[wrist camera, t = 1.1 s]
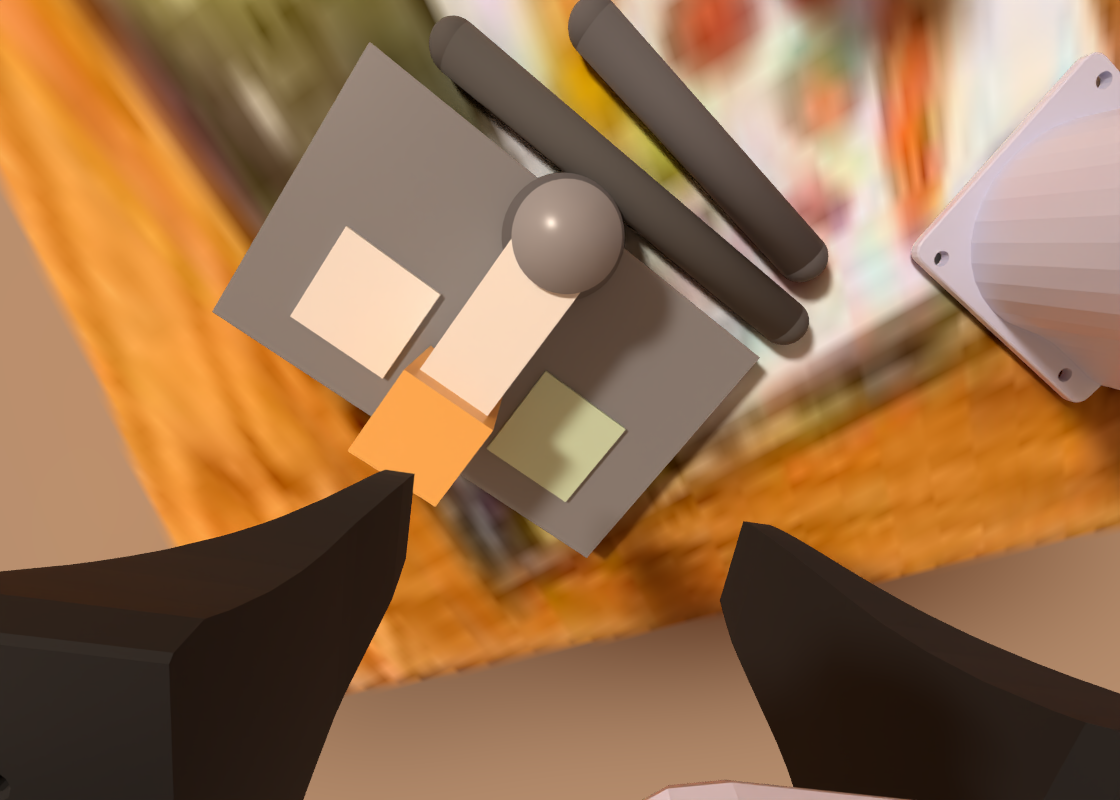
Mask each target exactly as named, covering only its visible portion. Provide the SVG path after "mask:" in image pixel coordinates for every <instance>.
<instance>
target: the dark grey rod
mask: <svg viewBox="0 0 1120 800" xmlns="http://www.w3.org/2000/svg"><path fill="white" fill-rule="evenodd" d="M429 48H430V53H431V57H432V59H433V61H434V63H435V64H436V66H437V67H438V68H439V69H440V70H441V71H442V72H443V73H444V74H445V75H446V76H448V77H449V78H450V79H451V80H453V81H454V82H455V83H456V84H457V85H459V86H460V87H461V88H462V89H463V90H465V91H466V92H467V93H468V94H470V95H471V96H472V97H473V98H474V99H476V100H477V101H478V102H479V103H481V104H482V105H483V106H484V107H485V108H487V109H488V110H489V111H490V112H491V113H493V114H494V115H495V116H496V117H498V118H499V119H500V120H501V121H502V122H504V123H505V124H506V125H507V126H509V127H510V128H511V129H512V130H513V131H515V132H516V133H517V134H518V135H519V136H521V137H522V138H523V139H524V140H526V141H527V142H528V143H529V144H530V145H532V146H533V147H534V148H535V149H537V150H538V151H539V152H540V153H541V154H543V155H544V156H545V157H546V158H547V159H549V160H550V161H551V162H552V163H554V164H555V165H556V166H557V167H558V168H560V169H561V170H562V171H563V172H565V173H574V174H578V175H582V176H584V177H587V178H589V179H591V180H593V181H595V182H596V183H597V184H599V185H600V186H602V187H603V188H604V189H605V190H606V191H607V192H608V193H609V195H610V196H611V197H612V198H613V200H614V201H615V203H616V205H617V207H618V209H619V211H620V213H621V216H622V220H623V221H624V222H625V223H627V224H628V225H629V226H630V227H631V228H633V229H634V230H635V231H636V232H638V233H639V234H640V235H641V236H642V237H644V238H645V239H646V240H647V241H649V242H650V243H651V244H652V245H653V246H655V247H656V248H657V249H658V250H659V251H661V252H662V253H663V254H664V255H666V256H667V257H668V258H669V259H670V260H672V261H673V262H674V263H675V264H677V265H678V266H679V267H680V268H681V269H683V270H684V271H685V272H686V273H687V274H689V275H690V276H691V277H692V278H694V279H695V280H696V281H697V282H698V283H700V284H701V285H702V286H703V287H705V288H706V289H707V290H708V291H709V292H711V293H712V294H713V295H714V296H715V297H717V298H718V299H719V300H720V301H722V302H723V303H724V304H725V305H726V306H728V307H729V308H730V309H731V310H733V311H734V312H735V313H736V314H737V315H739V316H740V317H741V318H742V319H743V320H745V321H746V322H747V323H748V324H750V325H751V326H752V327H753V328H754V329H756V330H757V331H758V332H759V333H761V334H762V335H763V336H764V337H765V338H767V339H768V340H769V341H771V342H773V343H775V344H780V345H787V344H791V343H794V342H796V341H798V340H799V339H800V338H802V337H803V335H804V334H805V333H806V331H807V329H808V325H809V317H808V313H807V311H806V310H805V308H804V307H803V306H802V305H801V304H800V303H799V302H797V301H796V300H795V299H794V298H793V297H792V296H790V295H789V294H788V293H787V292H786V291H785V290H783V289H782V288H781V287H780V286H779V285H777V284H776V283H775V282H774V281H773V280H772V279H770V278H769V277H768V276H767V275H766V274H765V273H763V272H762V271H761V270H760V269H759V268H758V267H756V266H755V265H754V264H753V263H752V262H750V261H749V260H748V259H747V258H746V257H745V256H743V255H742V254H741V253H740V252H739V251H738V250H736V249H735V248H734V247H733V246H732V245H731V244H729V243H728V242H727V241H726V240H725V239H724V238H722V237H721V236H720V235H719V234H718V233H716V232H715V231H714V230H713V229H712V228H711V227H709V226H708V225H707V224H706V223H705V222H704V221H702V220H701V219H700V218H699V217H698V216H697V215H695V214H694V213H693V212H692V211H691V210H689V209H688V208H687V207H686V206H685V205H684V204H682V203H681V202H680V201H679V200H678V199H677V198H675V197H674V196H673V195H672V194H671V193H670V192H668V191H667V190H666V189H665V188H664V187H662V186H661V185H660V184H659V183H658V182H657V181H655V180H654V179H653V178H652V177H651V176H650V175H648V174H647V173H646V172H645V171H644V170H643V169H641V168H640V167H639V166H638V165H637V164H636V163H634V162H633V161H632V160H631V159H630V158H628V157H627V156H626V155H625V154H624V153H623V152H621V151H620V150H619V149H618V148H617V147H616V146H614V145H613V144H612V143H611V142H610V141H609V140H607V139H606V138H605V137H604V136H603V135H601V134H600V133H599V132H598V131H597V130H596V129H594V128H593V127H592V126H591V125H590V124H589V123H587V122H586V121H585V120H584V119H583V118H582V117H580V116H579V115H578V114H577V113H576V112H575V111H573V110H572V109H571V108H570V107H569V106H567V105H566V104H565V103H564V102H563V101H562V100H560V99H559V98H558V97H557V96H556V95H555V94H553V93H552V92H551V91H550V90H549V89H548V88H546V87H545V86H544V85H543V84H542V83H540V82H539V81H538V80H537V79H536V78H535V77H533V76H532V75H531V74H530V73H529V72H528V71H526V70H525V69H524V68H523V67H522V66H521V65H519V64H518V63H517V62H516V61H515V60H513V59H512V58H511V57H510V56H509V55H508V54H506V53H505V52H504V51H503V50H502V49H501V48H499V47H498V46H497V45H496V44H495V43H494V42H492V41H491V40H490V39H489V38H488V37H487V36H485V35H484V34H483V33H482V32H481V31H479V30H478V29H477V28H476V27H475V26H474V25H472V24H471V23H470V22H469V21H467V20H466V19H464V18H462V17H459V16H447V17H444V18H442V19H441V20H439V21H438V22H437V23H436V24H435V26H434V27H433V29H432V31H431V34H430V39H429Z"/></svg>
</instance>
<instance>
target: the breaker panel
mask: <svg viewBox="0 0 1120 800" xmlns="http://www.w3.org/2000/svg"><path fill="white" fill-rule="evenodd" d="M558 179H576V180H581V181H584V182H587V183H589V184H591V185H593V186H595V187H596V188H598V189H599V190H601V191H602V192H603V193H604V194H605V195H606V196H607V197H608V198H609V200H610V201H611V202H612V204H613V205H614V207H615V209H616V211H617V213H618V216H619V219H620V222H621V228H622V245H621V250H620V254H619V257H618V259H617V261H616V264H615V266H614V267H613V269H612V270H611V272H610V273H609V274H608V275H607V276H606V278H605V279H603V280H602V281H601V282H600V283H599V284H597V285H596V286H594V287H592V288H591V289H589V290H586V291H583V292H580V294H579V295H578V296H577V298H576V299H575V300H574V302H573V303H572V304H571V306H570V307H569V308H568V310H567V311H566V312H565V314H564V315H563V316H562V318H561V319H560V320H559V322H558V323H557V324H556V326H555V327H554V328H553V330H552V331H551V332H550V334H549V335H548V336H547V338H546V339H545V340H544V342H543V343H542V344H541V345H540V347H539V348H538V349H537V351H536V352H535V353H534V355H533V356H532V357H531V359H530V360H529V361H528V363H527V364H526V365H525V367H524V368H523V369H522V371H521V372H520V373H519V375H518V376H517V377H516V379H515V380H514V381H513V383H512V384H511V385H510V387H509V388H508V389H507V391H506V392H505V393H504V395H503V397H502V400H501V404H500V408H499V411H498V415H497V419H496V422H495V426H494V429H493V431H492V433H491V434H490V435H489V437H488V438H487V439H486V441H485V442H484V443H483V445H482V446H481V447H480V448H479V450H478V451H477V452H476V454H475V455H474V456H473V458H472V459H471V460H470V462H469V463H468V464H467V466H466V467H465V468H464V470H463V471H462V472H461V473H460V475H461V476H463V477H464V478H466V479H468V480H469V481H471V482H472V483H474V484H475V485H477V486H478V487H480V488H481V489H483V490H484V491H486V492H487V493H489V494H490V495H492V496H493V497H495V498H496V499H498V500H499V501H501V502H503V503H504V504H506V505H507V506H509V507H510V508H512V509H513V510H515V511H516V512H518V513H519V514H521V515H522V516H524V517H525V518H527V519H528V520H530V521H531V522H533V523H534V524H536V525H538V526H539V527H541V528H542V529H544V530H545V531H547V532H548V533H550V534H551V535H553V536H554V537H556V538H557V539H559V540H560V541H562V542H563V543H565V544H566V545H568V546H570V547H571V548H573V549H574V550H576V551H577V552H579V553H580V554H582V555H583V556H585V557H586V558H587V557H588V556H589V555H590V553H591V552H592V551H593V550H594V549H595V548H596V546H597V545H598V544H599V543H600V542H601V541H602V540H603V538H604V537H605V536H606V535H607V534H608V533H609V531H610V530H611V529H612V528H613V527H614V526H615V525H616V523H617V522H618V521H619V520H620V519H621V518H622V516H623V515H624V514H625V513H626V512H627V511H628V509H629V508H630V507H631V506H632V505H633V504H634V503H635V501H636V500H637V499H638V498H639V497H640V496H641V494H642V493H643V492H644V491H645V490H646V489H647V488H648V486H649V485H650V484H651V483H652V482H653V481H654V479H655V478H656V477H657V476H658V475H659V474H660V473H661V471H662V470H663V469H664V468H665V467H666V466H667V464H668V463H669V462H670V461H671V460H672V459H673V457H674V456H675V455H676V454H677V453H678V452H679V451H680V449H681V448H682V447H683V446H684V445H685V444H686V442H687V441H688V440H689V439H690V438H691V437H692V436H693V434H694V433H695V432H696V431H697V430H698V429H699V427H700V426H701V425H702V424H703V423H704V422H705V421H706V419H707V418H708V417H709V416H710V415H711V414H712V412H713V411H714V410H715V409H716V408H717V407H718V405H719V404H720V403H721V402H722V401H723V400H724V399H725V397H726V396H727V395H728V394H729V393H730V392H731V390H732V389H733V388H734V387H735V386H736V385H737V384H738V382H739V381H740V380H741V379H742V378H743V377H744V375H745V374H746V373H747V372H748V371H749V370H750V369H751V367H752V366H753V365H754V364H755V363H756V362H757V360H758V359H759V358H760V357H758V356H757V355H756V354H755V353H753V352H752V351H751V350H750V349H748V348H747V347H746V346H745V345H743V344H742V343H741V342H740V341H739V340H737V339H736V338H735V337H734V336H732V335H731V334H730V333H729V332H727V331H726V330H725V329H724V328H722V327H721V326H720V325H719V324H717V323H716V322H715V321H714V320H713V319H711V318H710V317H709V316H708V315H706V314H705V313H704V312H703V311H701V310H700V309H699V308H698V307H696V306H695V305H694V304H693V303H692V302H690V301H689V300H688V299H687V298H685V297H684V296H683V295H682V294H680V293H679V292H678V291H677V290H675V289H674V288H673V287H672V286H671V285H669V284H668V283H667V282H666V281H664V280H663V279H662V278H661V277H659V276H658V275H657V274H656V273H654V272H653V271H652V270H651V269H650V268H648V267H647V266H646V265H645V264H643V263H642V262H641V261H640V260H638V259H637V258H636V257H635V256H633V255H632V254H631V253H630V252H629V251H627V250H626V249H625V248H624V241H625V232H624V224H623V220H622V216H621V213H620V211H619V209H618V207H617V205H616V203H615V201H614V200H613V198H612V197H611V196H610V195H609V193H608V192H607V191H606V190H605V189H604V188H603V187H602V186H600V185H599V184H597V183H596V182H595V181H593V180H591V179H589V178H587V177H584V176H582V175H578V174H574V173H553V174H548V175H545V176H542V177H540V178H537V177H536V176H535V175H533V174H532V173H531V172H530V171H528V170H527V169H526V168H525V167H524V166H522V165H521V164H520V163H519V162H517V161H516V160H515V159H514V158H512V157H511V156H510V155H509V154H507V153H506V152H505V151H504V150H503V149H501V148H500V147H499V146H498V145H496V144H495V143H494V142H493V141H491V140H490V139H489V138H488V137H486V136H485V135H484V134H483V133H482V132H480V131H479V130H478V129H477V128H475V127H474V126H473V125H472V124H470V123H469V122H468V121H467V120H465V119H464V118H463V117H462V116H461V115H459V114H458V113H457V112H456V111H454V110H453V109H452V108H451V107H449V106H448V105H447V104H446V103H444V102H443V101H442V100H441V99H440V98H438V97H437V96H436V95H435V94H433V93H432V92H431V91H430V90H428V89H427V88H426V87H425V86H423V85H422V84H421V83H420V82H418V81H417V80H416V79H415V78H414V77H412V76H411V75H410V74H409V73H407V72H406V71H405V70H404V69H402V68H401V67H400V66H399V65H397V64H396V63H395V62H394V61H393V60H391V59H390V58H389V57H388V56H386V55H385V54H384V53H383V52H381V51H380V50H379V49H378V48H376V47H375V46H374V45H373V44H372V43H370V42H369V44H368V45H367V47H366V49H365V50H364V52H363V54H362V56H361V57H360V59H359V61H358V62H357V64H356V66H355V68H354V69H353V71H352V73H351V74H350V76H349V78H348V80H347V81H346V83H345V85H344V86H343V88H342V90H341V92H340V93H339V95H338V97H337V98H336V100H335V102H334V104H333V105H332V107H331V109H330V111H329V112H328V114H327V116H326V117H325V119H324V121H323V123H322V124H321V126H320V128H319V129H318V131H317V133H316V135H315V136H314V138H313V140H312V141H311V143H310V145H309V147H308V148H307V150H306V152H305V153H304V155H303V157H302V159H301V160H300V162H299V164H298V165H297V167H296V169H295V171H294V172H293V174H292V176H291V177H290V179H289V181H288V183H287V184H286V186H285V188H284V189H283V191H282V193H281V195H280V196H279V198H278V200H277V202H276V203H275V205H274V207H273V208H272V210H271V212H270V214H269V215H268V217H267V219H266V220H265V222H264V224H263V226H262V227H261V229H260V231H259V232H258V234H257V236H256V238H255V239H254V241H253V243H252V244H251V246H250V248H249V250H248V251H247V253H246V255H245V256H244V258H243V260H242V262H241V263H240V265H239V267H238V268H237V270H236V272H235V274H234V275H233V277H232V279H231V281H230V282H229V284H228V286H227V287H226V289H225V291H224V293H223V294H222V296H221V298H220V299H219V301H218V303H217V305H216V306H215V308H214V310H213V311H212V312H213V313H215V314H216V315H218V316H219V317H221V318H222V319H224V320H225V321H227V322H228V323H230V324H232V325H233V326H235V327H236V328H238V329H239V330H241V331H242V332H244V333H245V334H247V335H248V336H250V337H251V338H253V339H254V340H256V341H257V342H259V343H260V344H262V345H264V346H265V347H267V348H268V349H270V350H271V351H273V352H274V353H276V354H277V355H279V356H280V357H282V358H283V359H285V360H286V361H288V362H289V363H291V364H292V365H294V366H295V367H297V368H299V369H300V370H302V371H303V372H305V373H306V374H308V375H309V376H311V377H312V378H314V379H315V380H317V381H318V382H320V383H321V384H323V385H324V386H326V387H327V388H329V389H330V390H332V391H334V392H335V393H337V394H338V395H340V396H341V397H343V398H344V399H346V400H347V401H349V402H350V403H352V404H353V405H355V406H356V407H358V408H359V409H361V410H362V411H364V412H366V413H367V414H369V415H370V416H372V415H373V413H374V412H375V411H376V409H377V408H378V406H379V405H380V403H381V402H382V401H383V399H384V398H385V396H386V395H387V393H388V392H389V390H390V389H391V388H392V386H393V385H394V383H395V382H396V380H397V379H398V377H399V376H400V375H401V373H402V372H403V370H404V369H405V368H406V367H407V366H408V365H410V364H411V363H412V362H413V361H414V360H415V359H416V358H417V357H419V356H420V355H421V354H422V353H423V352H424V351H425V350H426V349H427V348H429V347H430V346H432V347H433V348H435V347H436V345H437V344H438V343H439V341H440V340H441V338H442V337H443V335H444V334H445V333H446V331H447V330H448V328H449V327H450V325H451V324H452V323H453V321H454V320H455V318H456V317H457V315H458V314H459V313H460V311H461V310H462V308H463V307H464V305H465V304H466V303H467V301H468V300H469V298H470V297H471V296H472V294H473V293H474V291H475V290H476V288H477V287H478V286H479V284H480V283H481V281H482V280H483V278H484V277H485V276H486V274H487V273H488V271H489V270H490V268H491V267H492V266H493V264H494V263H495V261H496V260H497V258H498V257H499V256H500V254H501V253H502V251H503V250H504V248H505V247H506V246H507V244H508V243H509V241H510V240H511V239H512V226H513V221H514V218H515V215H516V213H517V211H518V208H519V207H520V205H521V203H522V202H523V201H524V199H525V198H526V197H527V196H528V195H529V194H530V193H531V192H532V191H533V190H535V189H536V188H538V187H539V186H541V185H543V184H545V183H547V182H550V181H553V180H558Z"/></svg>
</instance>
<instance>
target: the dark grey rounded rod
mask: <svg viewBox="0 0 1120 800" xmlns="http://www.w3.org/2000/svg"><path fill="white" fill-rule="evenodd" d="M568 30H569V37H570V40H571V42H572V44H573V46H574V48H575V49H576V50H577V51H578V52H579V54H580V55H581V56H582V57H583V58H584V59H585V60H586V61H587V62H588V63H589V64H590V66H591V67H592V68H593V69H594V70H595V71H596V72H597V73H598V74H599V75H600V76H601V78H602V79H603V80H604V81H605V82H606V83H607V84H608V85H609V86H610V87H611V88H612V90H613V91H614V92H615V93H616V94H617V95H618V96H619V97H620V98H621V99H622V100H623V101H624V103H625V104H626V105H627V106H628V107H629V108H630V109H631V110H632V111H633V112H634V113H635V115H636V116H637V117H638V118H639V119H640V120H641V121H642V122H643V123H644V124H645V125H646V127H647V128H648V129H649V130H650V131H651V132H652V133H653V134H654V135H655V136H656V137H657V139H658V140H659V141H660V142H661V143H662V144H663V145H664V146H665V147H666V148H667V149H668V150H669V152H670V153H671V154H672V155H673V156H674V157H675V158H676V159H677V160H678V161H679V162H680V164H681V165H682V166H683V167H684V168H685V169H686V170H687V171H688V172H689V173H690V174H691V176H692V177H693V178H694V179H695V180H696V181H697V182H698V183H699V184H700V185H701V186H702V188H703V189H704V190H705V191H706V192H707V193H708V194H709V195H710V196H711V197H712V198H713V199H714V201H715V202H716V203H717V204H718V205H719V206H720V207H721V208H722V209H723V210H724V211H725V213H726V214H727V215H728V216H729V217H730V218H731V219H732V220H733V221H734V222H735V223H736V225H737V226H738V227H739V228H740V229H741V230H742V231H743V232H744V233H745V234H746V235H747V237H748V238H749V239H750V240H751V241H752V242H753V243H754V244H755V245H756V246H757V247H758V248H759V250H760V251H761V252H762V253H763V254H764V255H765V256H766V257H767V258H768V259H769V260H770V262H771V263H772V264H773V265H774V266H775V267H776V268H777V269H778V270H779V271H780V272H781V274H782V275H783V276H785V277H786V278H787V279H789V280H791V281H795V282H806V281H809V280H812V279H814V278H816V277H817V276H818V275H820V274H821V273H822V271H823V270H824V268H825V267H826V265H827V262H828V250H827V247H826V245H825V244H824V242H823V241H822V240H821V239H820V238H819V236H818V235H817V234H816V233H815V232H814V231H813V230H812V228H811V227H810V226H809V225H808V224H807V223H806V222H805V221H804V219H803V218H802V217H801V216H800V215H799V214H798V213H797V211H796V210H795V209H794V208H793V207H792V206H791V205H790V203H789V202H788V201H787V200H786V199H785V198H784V197H783V196H782V194H781V193H780V192H779V191H778V190H777V189H776V188H775V186H774V185H773V184H772V183H771V182H770V181H769V180H768V178H767V177H766V176H765V175H764V174H763V173H762V172H761V171H760V169H759V168H758V167H757V166H756V165H755V164H754V163H753V161H752V160H751V159H750V158H749V157H748V156H747V155H746V153H745V152H744V151H743V150H742V149H741V148H740V147H739V145H738V144H737V143H736V142H735V141H734V140H733V139H732V138H731V136H730V135H729V134H728V133H727V132H726V131H725V130H724V128H723V127H722V126H721V125H720V124H719V123H718V122H717V120H716V119H715V118H714V117H713V116H712V115H711V114H710V113H709V111H708V110H707V109H706V108H705V107H704V106H703V105H702V103H701V102H700V101H699V100H698V99H697V98H696V97H695V95H694V94H693V93H692V92H691V91H690V90H689V89H688V88H687V86H686V85H685V84H684V83H683V82H682V81H681V80H680V78H679V77H678V76H677V75H676V74H675V73H674V72H673V70H672V69H671V68H670V67H669V66H668V65H667V64H666V62H665V61H664V60H663V59H662V58H661V57H660V56H659V55H658V53H657V52H656V51H655V50H654V49H653V48H652V47H651V45H650V44H649V43H648V42H647V41H646V40H645V39H644V37H643V36H642V35H641V34H640V33H639V32H638V31H637V30H636V28H635V27H634V26H633V25H632V24H631V23H630V22H629V20H628V19H627V18H626V17H625V16H624V15H623V14H622V12H621V11H620V10H619V9H618V8H617V7H616V6H615V5H614V3H613V2H612V1H611V0H580V1H579V2H578V3H577V4H576V5H575V6H574V8H573V10H572V12H571V14H570V18H569V24H568Z"/></svg>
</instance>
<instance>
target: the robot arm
mask: <svg viewBox="0 0 1120 800" xmlns="http://www.w3.org/2000/svg"><path fill="white" fill-rule="evenodd" d="M1098 76H1099V78H1100V85H1099V87H1098V88H1097V85H1096V79H1097V77H1098ZM939 252H940V254H941V260H940V262H939V263H938V264H937V265H936V264H935V263H934V257H935V256H936V254H937V253H939ZM911 253H912V258H913V259H914V261H915V262H916V263H917V264H918V265H919V266H921V267H922V268H923V269H924V270H925V271H926V272H927V273H928V274H929V275H930V276H931V277H932V278H933V279H935V280H936V281H937V282H938V283H939V284H940V285H941V286H942V287H943V288H944V289H945V290H946V291H948V292H949V293H950V294H951V295H952V296H953V297H954V298H955V299H956V300H957V301H958V302H959V303H960V304H962V305H963V306H964V307H965V308H966V309H967V310H968V311H969V312H970V313H971V314H972V315H973V316H975V317H976V318H977V319H978V320H979V321H980V322H981V323H982V324H983V325H984V326H985V327H986V328H987V329H989V330H990V331H991V332H992V333H993V334H994V335H995V336H996V337H997V338H998V339H999V340H1000V341H1002V342H1003V343H1004V344H1005V345H1006V346H1007V347H1008V348H1009V349H1010V350H1011V351H1012V352H1013V353H1014V354H1016V355H1017V356H1018V357H1019V358H1020V359H1021V360H1022V361H1023V362H1024V363H1025V364H1026V365H1027V366H1029V367H1030V368H1031V369H1032V370H1033V371H1034V372H1035V373H1036V374H1037V375H1038V376H1039V377H1040V378H1041V379H1043V380H1044V381H1045V382H1046V383H1047V384H1048V385H1049V386H1050V387H1051V388H1052V389H1053V390H1054V391H1056V392H1057V393H1058V394H1059V395H1060V396H1061V397H1062V398H1063V399H1065V400H1068V401H1071V402H1082V401H1084V400H1086V399H1087V398H1088V397H1090V396H1091V395H1092V394H1093V393H1094V392H1095V391H1096V390H1097V389H1098V388H1099V387H1100V386H1101V385H1103V386H1106V387H1110V388H1114V389H1118V390H1120V72H1119V70H1118V69H1117V68H1116V67H1115V66H1114V65H1113V64H1112V62H1111V61H1110V60H1109V59H1108V58H1107V57H1106V56H1105V55H1104V54H1102V53H1096V52H1095V53H1093V54H1090V55H1087V56H1084V57H1081V58H1080V59H1078V60H1077V61H1076V62H1075V63H1074V64H1073V65H1072V66H1071V67H1070V68H1069V70H1068V71H1067V72H1066V73H1065V74H1064V75H1063V76H1062V77H1061V79H1060V80H1059V81H1058V82H1057V83H1056V84H1055V85H1054V86H1053V87H1052V89H1051V90H1050V91H1049V92H1048V93H1047V94H1046V95H1045V96H1044V98H1043V99H1042V100H1041V101H1040V102H1039V103H1038V104H1037V105H1036V107H1035V108H1034V109H1033V110H1032V111H1031V112H1030V113H1029V114H1028V116H1027V117H1026V118H1025V119H1024V120H1023V121H1022V122H1021V123H1020V125H1019V126H1018V127H1017V128H1016V129H1015V130H1014V131H1013V132H1012V134H1011V135H1010V136H1009V137H1008V138H1007V139H1006V140H1005V141H1004V142H1003V144H1002V145H1001V146H1000V147H999V148H998V149H997V150H996V151H995V153H994V154H993V155H992V156H991V157H990V158H989V159H988V160H987V162H986V163H985V164H984V165H983V166H982V167H981V168H980V169H979V171H978V172H977V173H976V174H975V175H974V176H973V177H972V178H971V180H970V181H969V182H968V183H967V184H966V185H965V186H964V187H963V189H962V190H961V191H960V192H959V193H958V194H957V195H956V196H955V197H954V199H953V200H952V201H951V202H950V203H949V204H948V205H947V206H946V208H945V209H944V210H943V211H942V212H941V213H940V214H939V215H938V217H937V218H936V219H935V220H934V221H933V222H932V223H931V224H930V226H929V227H928V228H927V229H926V230H925V231H924V232H923V233H922V235H921V236H920V237H919V238H918V239H917V240H916V241H915V243H914V245H913V246H912V251H911ZM1061 370H1062V374H1061V376H1060V377H1059V378H1058V374H1059V373H1060V371H1061ZM414 476H415V474H413V473H406V472H399V471H392V470H383V471H380V472H378V473H376V474H374V475H372V476H369V477H367V478H365V479H363V480H361V481H359V482H357V483H355V484H353V485H351V486H349V487H347V488H345V489H343V490H341V491H339V492H337V493H335V494H333V495H331V496H329V497H327V498H324V499H322V500H320V501H318V502H315V503H313V504H310V505H308V506H306V507H303V508H301V509H299V510H296V511H294V512H292V513H289V514H287V515H285V516H282V517H279V518H277V519H274V520H271V521H268V522H266V523H263V524H260V525H257V526H254V527H250V528H247V529H244V530H241V531H238V532H235V533H231V534H228V535H224V536H220V537H216V538H212V539H208V540H204V541H200V542H195V543H191V544H187V545H183V546H179V547H175V548H171V549H166V550H161V551H156V552H150V553H145V554H139V555H134V556H129V557H122V558H115V559H109V560H102V561H95V562H88V563H80V564H73V565H63V566H52V567H42V568H32V569H22V570H11V571H1V572H0V800H303V799H304V796H305V793H306V791H307V788H308V785H309V783H310V780H311V777H312V774H313V772H314V769H315V766H316V764H317V761H318V758H319V756H320V753H321V751H322V748H323V745H324V743H325V740H326V738H327V734H328V732H329V730H330V727H331V725H332V722H333V719H334V717H335V714H336V712H337V710H338V708H339V706H340V703H341V701H342V699H343V697H344V694H345V692H346V690H347V688H348V686H349V684H350V682H351V680H352V678H353V676H354V674H355V672H356V670H357V668H358V666H359V664H360V662H361V660H362V658H363V656H364V654H365V652H366V650H367V648H368V646H369V644H370V642H371V640H372V638H373V636H374V634H375V632H376V630H377V628H378V626H379V624H380V622H381V620H382V618H383V616H384V614H385V612H386V610H387V608H388V606H389V604H390V602H391V600H392V597H393V595H394V592H395V589H396V586H397V583H398V580H399V577H400V574H401V571H402V568H403V565H404V562H405V559H406V551H407V542H408V532H409V523H410V513H411V504H412V495H413V485H414ZM720 602H721V606H722V610H723V614H724V617H725V621H726V625H727V628H728V631H729V635H730V637H731V641H732V644H733V646H734V648H735V651H736V653H737V655H738V658H739V660H740V662H741V665H742V667H743V669H744V671H745V673H746V676H747V678H748V680H749V683H750V685H751V687H752V689H753V691H754V693H755V696H756V698H757V700H758V702H759V704H760V707H761V709H762V711H763V713H764V715H765V718H766V720H767V722H768V724H769V726H770V728H771V731H772V733H773V735H774V737H775V740H776V742H777V744H778V747H779V749H780V752H781V754H782V756H783V759H784V762H785V764H786V766H787V769H788V772H789V775H790V778H791V781H792V784H793V787H787V786H778V785H769V784H759V783H749V782H740V781H731V780H719V781H708V782H698V783H687V784H677V785H668V786H666V787H665V788H663V789H661V790H659V791H657V792H656V793H654V794H652V795H650V796H648V797H646V798H644V799H643V800H1120V694H1119V693H1116V692H1113V691H1111V690H1108V689H1105V688H1102V687H1099V686H1097V685H1093V684H1091V683H1088V682H1085V681H1082V680H1079V679H1076V678H1074V677H1071V676H1068V675H1066V674H1063V673H1060V672H1058V671H1055V670H1053V669H1050V668H1047V667H1045V666H1042V665H1039V664H1037V663H1034V662H1032V661H1030V660H1027V659H1025V658H1022V657H1020V656H1017V655H1015V654H1013V653H1010V652H1008V651H1006V650H1003V649H1001V648H998V647H996V646H994V645H991V644H989V643H987V642H984V641H982V640H980V639H978V638H975V637H973V636H971V635H969V634H967V633H965V632H962V631H961V630H958V629H956V628H954V627H952V626H950V625H948V624H946V623H944V622H942V621H940V620H938V619H936V618H934V617H931V616H930V615H928V614H926V613H924V612H922V611H920V610H918V609H916V608H914V607H912V606H911V605H909V604H907V603H905V602H903V601H901V600H900V599H898V598H896V597H894V596H892V595H891V594H889V593H887V592H885V591H884V590H882V589H880V588H878V587H877V586H875V585H873V584H871V583H870V582H868V581H866V580H865V579H863V578H861V577H860V576H858V575H856V574H855V573H853V572H851V571H850V570H848V569H846V568H845V567H843V566H841V565H840V564H838V563H836V562H835V561H833V560H832V559H830V558H828V557H827V556H825V555H823V554H822V553H820V552H819V551H817V550H815V549H814V548H812V547H810V546H809V545H807V544H805V543H804V542H802V541H800V540H799V539H797V538H795V537H793V536H791V535H790V534H788V533H786V532H784V531H782V530H780V529H778V528H776V527H773V526H771V525H765V524H758V523H751V522H744V521H743V525H742V528H741V531H740V535H739V538H738V541H737V545H736V548H735V552H734V555H733V558H732V562H731V565H730V568H729V572H728V575H727V579H726V582H725V585H724V589H723V592H722V595H721V599H720Z"/></svg>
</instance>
